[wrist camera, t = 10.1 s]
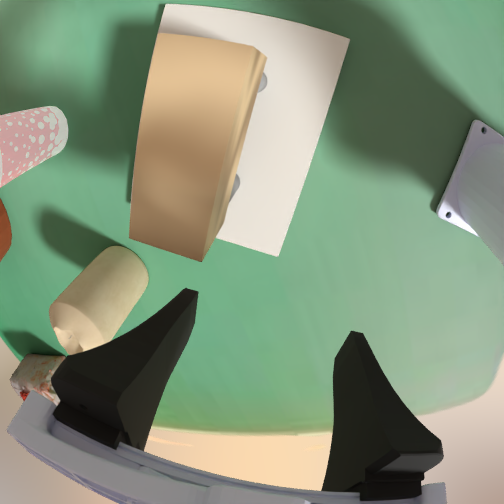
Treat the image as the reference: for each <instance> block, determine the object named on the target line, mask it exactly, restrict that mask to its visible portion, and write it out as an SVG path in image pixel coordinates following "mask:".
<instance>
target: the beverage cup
mask: <svg viewBox="0 0 504 504" xmlns="http://www.w3.org/2000/svg"><path fill="white" fill-rule="evenodd" d="M67 139H68V124H67V119H66V117H65V116H64V114H63V112H62V111H61V110H60V109H59V108H57V107H54V106H46V107H40V108H34V109H29V110H23V111H18V112H13V113H8V114H4V115H0V187H2V186H3V185H5V184H6V183H8V182H10V181H11V180H13V179H14V178H16V177H18V176H19V175H21V174H23V173H24V172H26V171H28V170H29V169H31V168H33V167H34V166H36V165H38V164H40V163H41V162H43V161H45V160H47V159H49V158H50V157H52V156H54V155H56V154H58V153H59V152H60V151H61V150H62V149H63V148H64V147H65V144H66V142H67Z"/></svg>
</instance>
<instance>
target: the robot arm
mask: <svg viewBox="0 0 504 504" xmlns="http://www.w3.org/2000/svg"><path fill="white" fill-rule="evenodd" d="M482 127H484V132H483V133H482V131H481V129H482ZM447 212H450V213H449V215H448V216H446V213H447ZM436 213H437V215H438V216H439V217H440V218H441V219H443V220H446V221H448V222H450V223H452V224H454V225H456V226H458V227H460V228H462V229H464V230H466V231H468V232H470V233H472V234H474V235H476V236H478V237H480V238H481V239H482V240H483V242H484V243H485V244H486V245H487V246H488V247H489V249H490V250H491V251H492V252H493V253H494V255H495V256H496V257H497V258H498V259H499V261H500V262H501V263H502V264H503V266H504V137H503V136H502V135H500V134H499V133H498V132H496V131H495V130H493V129H492V128H490V127H489V126H488V125H486V124H485V123H483V122H482V121H479V120H474V121H473V122H472V124H471V127H470V130H469V133H468V136H467V138H466V141H465V144H464V146H463V149H462V152H461V154H460V157H459V159H458V162H457V164H456V167H455V169H454V171H453V174H452V176H451V178H450V181H449V183H448V185H447V188H446V190H445V192H444V194H443V196H442V199H441V201H440V203H439V205H438V207H437V210H436ZM197 299H198V291H194V290H191V289H187V288H185V289H183V290H182V291H181V292H180V293H179V294H178V295H177V296H176V297H175V298H173V299H172V300H171V301H170V302H169V303H168V304H167V305H165V306H164V307H163V308H162V309H160V310H159V311H158V312H157V313H156V314H154V315H153V316H151V317H150V318H149V319H147V320H146V321H145V322H143V323H142V324H140V325H139V326H137V327H136V328H134V329H132V330H131V331H129V332H127V333H125V334H124V335H122V336H120V337H118V338H116V339H114V340H112V341H110V342H107V343H105V344H103V345H100V346H98V347H95V348H92V349H90V350H87V351H83V352H80V353H76V354H73V355H69V356H67V357H66V358H65V359H64V360H63V361H62V362H61V364H60V365H59V366H58V368H57V369H56V371H55V372H54V374H53V375H52V377H51V384H52V387H53V389H54V390H55V392H56V394H57V396H58V398H59V399H60V402H59V404H58V405H57V406H56V404H54V403H53V402H52V401H50V400H49V399H47V398H46V397H44V396H42V395H41V394H39V393H37V392H36V391H34V390H31V392H30V393H29V395H28V396H27V398H26V399H25V401H24V402H23V404H22V405H21V407H20V409H19V410H18V412H17V413H16V415H15V417H14V418H13V420H12V421H11V423H10V425H9V426H8V428H7V432H8V433H9V434H10V435H11V436H12V437H13V438H14V439H15V440H16V441H17V442H18V443H19V444H20V445H21V446H22V447H24V448H25V449H26V450H27V451H28V452H29V453H31V454H32V455H34V456H35V457H36V458H38V459H40V460H41V461H43V462H44V463H46V464H47V465H49V466H51V467H52V468H54V469H55V470H57V471H59V472H60V473H62V474H63V475H65V476H67V477H69V478H70V479H72V480H74V481H76V482H77V483H79V484H81V485H83V486H85V487H87V488H88V489H90V490H92V491H94V492H96V493H98V494H100V495H102V496H104V497H106V498H108V499H110V500H112V501H114V502H117V503H119V504H447V501H446V490H445V489H446V488H445V483H444V482H442V483H433V484H427V485H423V486H421V481H422V480H424V473H425V472H426V471H428V470H429V469H431V468H433V467H434V466H436V465H437V464H438V463H440V462H441V461H442V459H443V457H444V455H443V448H442V443H441V440H440V439H439V438H437V437H436V436H435V435H434V434H433V433H431V432H430V431H429V430H428V429H427V428H426V427H425V426H424V425H423V424H422V423H421V422H420V421H419V420H418V419H417V418H416V417H415V416H414V415H413V414H412V413H411V411H410V410H409V409H408V408H407V407H406V405H405V404H404V403H403V402H402V400H401V399H400V397H399V396H398V395H397V393H396V392H395V390H394V389H393V387H392V386H391V384H390V383H389V381H388V379H387V378H386V376H385V374H384V373H383V371H382V369H381V367H380V365H379V363H378V362H377V360H376V358H375V356H374V354H373V352H372V350H371V348H370V346H369V344H368V342H367V340H366V338H365V336H364V334H363V333H360V332H355V331H351V332H350V334H349V335H348V337H347V339H346V340H345V342H344V344H343V345H342V347H341V349H340V350H339V352H338V354H337V355H336V357H335V361H334V371H333V397H334V426H333V435H332V443H331V449H330V455H329V460H328V465H327V470H326V475H325V479H324V483H323V487H322V490H321V491H314V490H302V489H294V488H286V487H279V486H271V485H266V484H260V483H254V482H249V481H243V480H239V479H235V478H230V477H225V476H221V475H217V474H213V473H210V472H206V471H202V470H198V469H195V468H191V467H188V466H185V465H181V464H178V463H175V462H172V461H169V460H166V459H163V458H160V457H158V456H155V455H152V454H149V453H147V452H144V448H145V445H146V441H147V438H148V435H149V431H150V429H151V426H152V423H153V420H154V417H155V414H156V411H157V408H158V405H159V402H160V400H161V397H162V394H163V392H164V389H165V386H166V384H167V382H168V379H169V377H170V375H171V373H172V371H173V369H174V367H175V366H176V364H177V362H178V360H179V358H180V356H181V354H182V352H183V350H184V348H185V346H186V344H187V342H188V340H189V337H190V335H191V332H192V329H193V326H194V324H195V316H196V308H197Z"/></svg>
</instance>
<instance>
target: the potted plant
mask: <svg viewBox="0 0 504 504" xmlns="http://www.w3.org/2000/svg"><path fill="white" fill-rule="evenodd" d="M11 239H12V233H11V226H10V222H9V218H8V215H7V212H6V209H5V207H4V205H3V203H2V200H1V199H0V261H1V260H2V258H3V257H4V256H5V254H6V253H7V251H8V250H9V248H10V246H11Z"/></svg>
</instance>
